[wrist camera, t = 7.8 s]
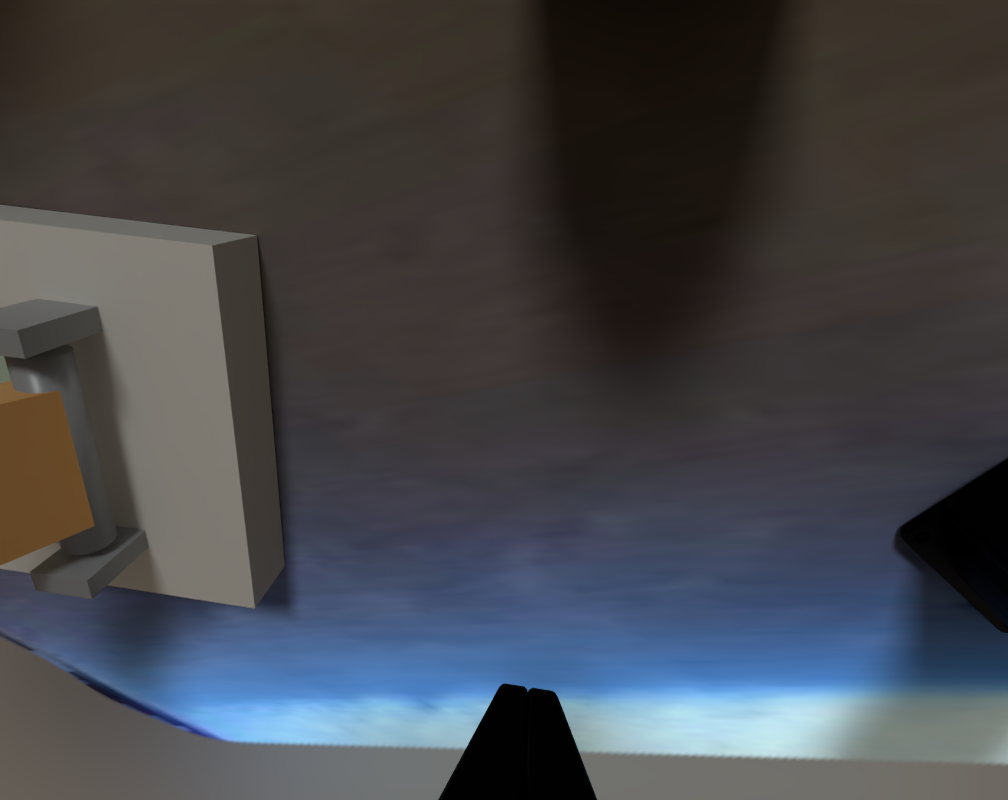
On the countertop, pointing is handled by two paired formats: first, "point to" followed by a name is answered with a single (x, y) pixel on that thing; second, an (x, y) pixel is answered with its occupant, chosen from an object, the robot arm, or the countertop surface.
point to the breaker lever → (49, 461)
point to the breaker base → (155, 397)
